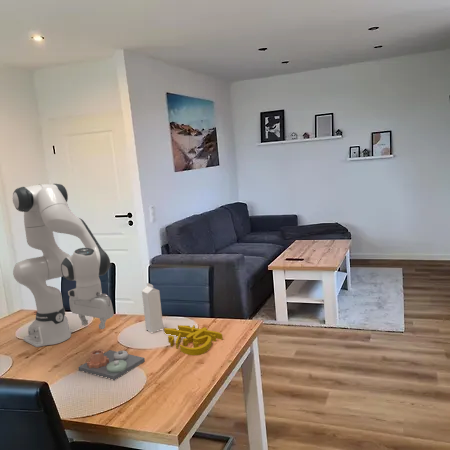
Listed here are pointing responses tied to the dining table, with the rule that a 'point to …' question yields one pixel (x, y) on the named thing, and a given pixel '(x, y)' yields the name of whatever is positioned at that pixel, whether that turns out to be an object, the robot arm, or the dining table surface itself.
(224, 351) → the dining table surface
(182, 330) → the decorative art
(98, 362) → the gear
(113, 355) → the carrier
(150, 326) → the milk
